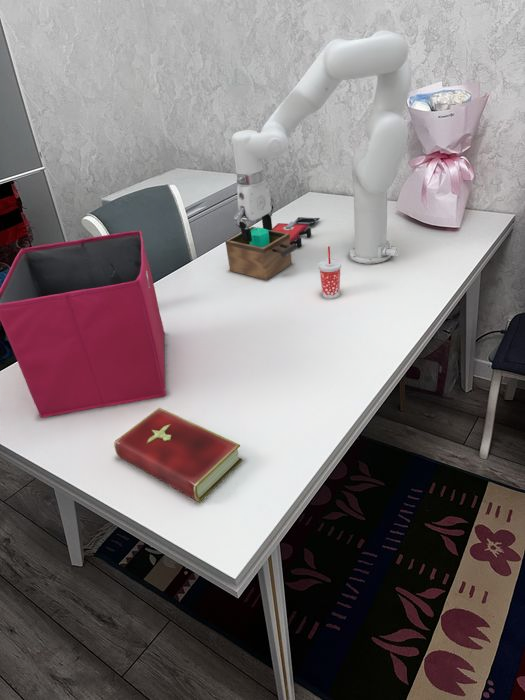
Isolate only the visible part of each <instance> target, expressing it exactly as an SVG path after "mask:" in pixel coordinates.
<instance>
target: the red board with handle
mask: <svg viewBox="0 0 525 700" xmlns="http://www.w3.org/2000/svg"><path fill="white" fill-rule="evenodd" d="M320 219H321V218H320V217H304V216H303V217H300V216H298V217H297V218H296V219H295V220H294V221H290V222H289V223H282V222H281V223H280V222H279V223H276V225H274V226H273V227H272V230H273V231H278V232H283V233H289V234H290V246H291V245H292V244H296V245H297V249H300V248H301V247H302V246H303V244H302V237H300V236H303V235H306V239H310V238H311V237H312V228H311V227H308V226H314V225H316V223H317V222H318V221H319V220H320Z"/></svg>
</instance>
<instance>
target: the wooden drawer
mask: <svg viewBox="0 0 525 700" xmlns="http://www.w3.org/2000/svg"><path fill="white" fill-rule="evenodd" d="M257 227H258V226H249V228H250V229H251V230H252V229H254V228H257ZM268 231H269V240H270V244H268V245H267V246H265V247H263V248H262V247H257V246H253V245H250V242H247V241H243V239H242V232H239V233H237V234H235V235H234V236H231V237H230V238H228V239H226V240H225V247H226V252H227V261H228V268H229V271H230V272H233V273H238V274H242V275H245V276H248V277H253V278H257V279H261V280H265V281H268V280H270V279H271V278H273V277H274V276H275V275H277V274H278V273H280V272H281V271H283V270H284V269H287V268H288V267H290V266H291V265H292V264H293V262H292V261H293V259H292V253H293V252H295V251H296V250H297V249H298V248H297V244H292V245H290V234H289V233H283V232H278V231H273V230H268Z"/></svg>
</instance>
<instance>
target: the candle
mask: <svg viewBox="0 0 525 700" xmlns="http://www.w3.org/2000/svg"><path fill="white" fill-rule="evenodd" d="M256 227H257V228H254V229H252V230H251V236H252V241H251V242H250V245H253V246H257V247H262V248H263V247H265V246H267V245H268V244H270V240H269V231H268V230H267V229H264V228H263V227H259V226H256Z"/></svg>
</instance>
